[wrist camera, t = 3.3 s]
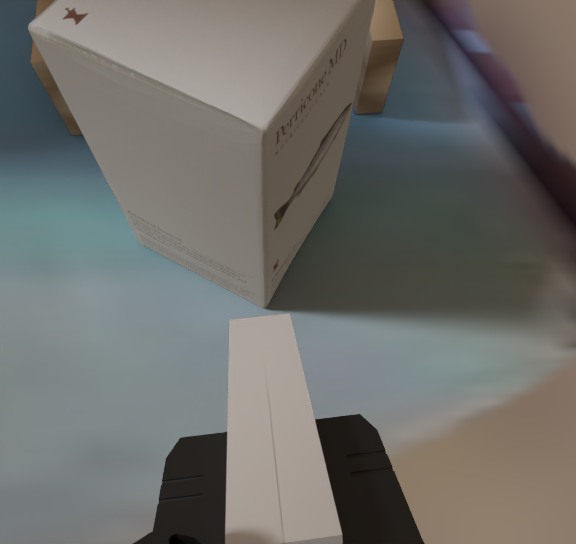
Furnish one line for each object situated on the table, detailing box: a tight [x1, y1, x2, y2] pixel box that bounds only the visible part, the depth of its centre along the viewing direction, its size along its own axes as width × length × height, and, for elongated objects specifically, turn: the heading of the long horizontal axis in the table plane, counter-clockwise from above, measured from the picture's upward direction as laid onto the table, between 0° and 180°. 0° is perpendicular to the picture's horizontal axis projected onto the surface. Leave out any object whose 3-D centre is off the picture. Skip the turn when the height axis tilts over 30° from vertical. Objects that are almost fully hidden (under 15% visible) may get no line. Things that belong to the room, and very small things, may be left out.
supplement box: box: [28, 0, 376, 308], centre depth 19 cm, size 7×7×13 cm
